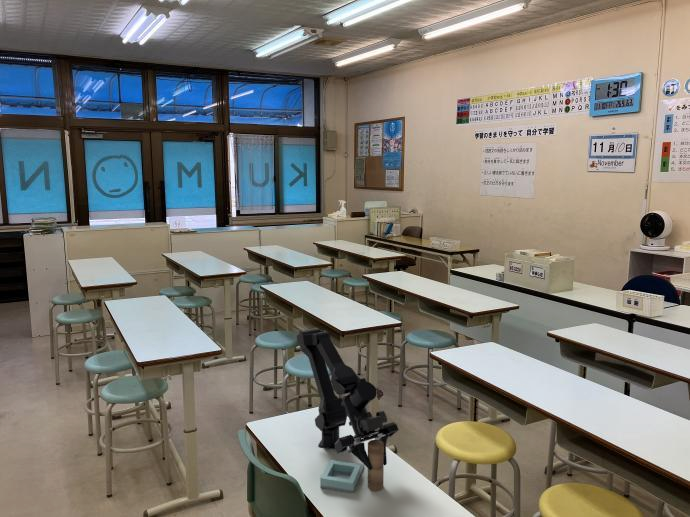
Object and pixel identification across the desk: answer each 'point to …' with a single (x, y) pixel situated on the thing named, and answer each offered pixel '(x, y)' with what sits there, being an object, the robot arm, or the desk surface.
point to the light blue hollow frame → (341, 476)
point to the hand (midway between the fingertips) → (378, 467)
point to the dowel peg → (376, 465)
